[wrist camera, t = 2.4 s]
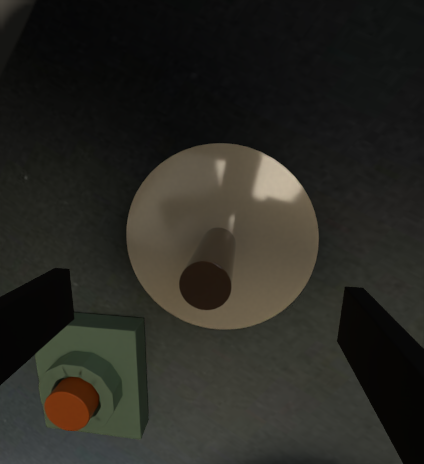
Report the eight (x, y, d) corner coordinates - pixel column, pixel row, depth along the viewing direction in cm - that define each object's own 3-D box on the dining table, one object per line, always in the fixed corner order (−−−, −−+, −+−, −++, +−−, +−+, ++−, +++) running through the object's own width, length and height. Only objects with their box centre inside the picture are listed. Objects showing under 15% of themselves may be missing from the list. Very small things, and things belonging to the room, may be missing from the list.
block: (46, 309, 27) (13, 333, 23) (144, 317, 26) (126, 344, 22) (60, 408, 30) (32, 445, 26) (148, 419, 29) (133, 459, 25)
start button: (55, 373, 24) (40, 389, 22) (98, 378, 24) (86, 394, 22) (60, 410, 25) (46, 428, 23) (101, 415, 25) (91, 434, 23)
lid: (127, 143, 22) (48, 128, 13) (325, 145, 21) (387, 130, 12) (135, 315, 26) (79, 393, 17) (304, 329, 24) (339, 423, 15)
